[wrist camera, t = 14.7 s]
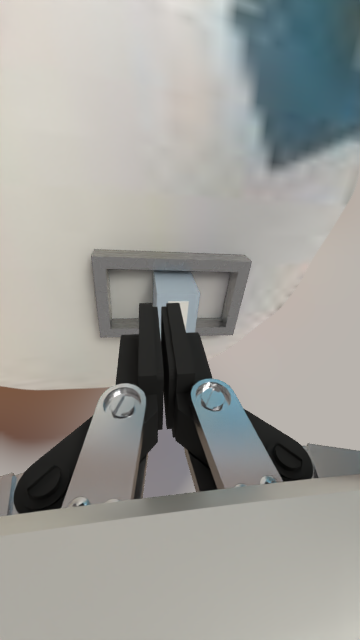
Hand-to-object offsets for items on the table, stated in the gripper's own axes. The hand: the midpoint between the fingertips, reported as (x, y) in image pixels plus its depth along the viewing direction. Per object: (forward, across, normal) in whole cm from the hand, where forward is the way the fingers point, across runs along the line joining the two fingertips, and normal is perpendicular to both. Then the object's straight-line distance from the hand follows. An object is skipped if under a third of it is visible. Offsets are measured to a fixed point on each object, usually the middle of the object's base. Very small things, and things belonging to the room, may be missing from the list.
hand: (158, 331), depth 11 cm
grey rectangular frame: (+23, -3, +11) cm, 26 cm away
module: (+23, -3, +11) cm, 26 cm away
